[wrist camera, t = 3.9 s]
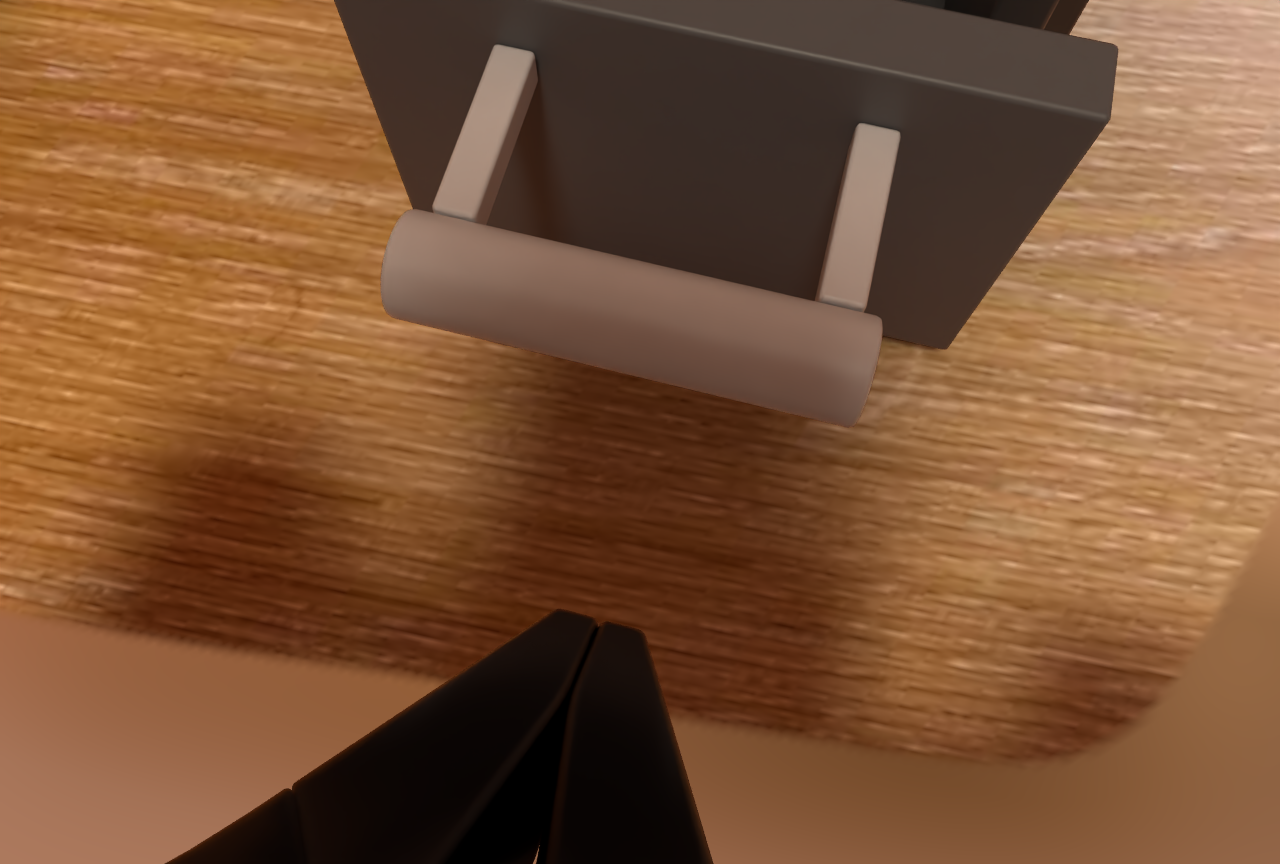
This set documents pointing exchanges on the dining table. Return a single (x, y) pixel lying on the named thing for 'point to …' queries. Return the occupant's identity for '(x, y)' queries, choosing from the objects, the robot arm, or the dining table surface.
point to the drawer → (721, 176)
